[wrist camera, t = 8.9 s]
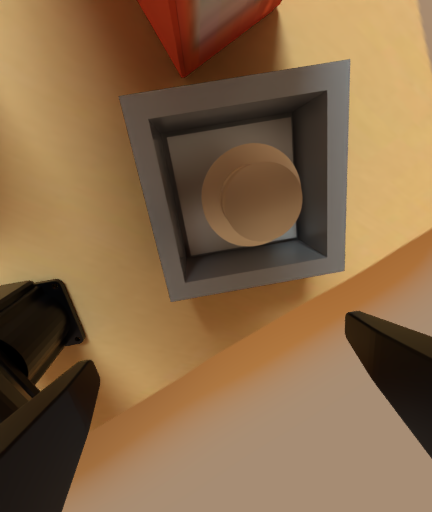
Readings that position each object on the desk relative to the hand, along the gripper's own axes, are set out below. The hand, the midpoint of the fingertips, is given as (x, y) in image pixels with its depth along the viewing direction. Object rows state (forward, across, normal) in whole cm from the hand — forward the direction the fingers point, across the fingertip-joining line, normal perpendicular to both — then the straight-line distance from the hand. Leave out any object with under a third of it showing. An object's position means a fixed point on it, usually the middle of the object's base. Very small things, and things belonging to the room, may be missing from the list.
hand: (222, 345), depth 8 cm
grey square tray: (+13, -3, -4) cm, 14 cm away
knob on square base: (+12, -3, -4) cm, 13 cm away
